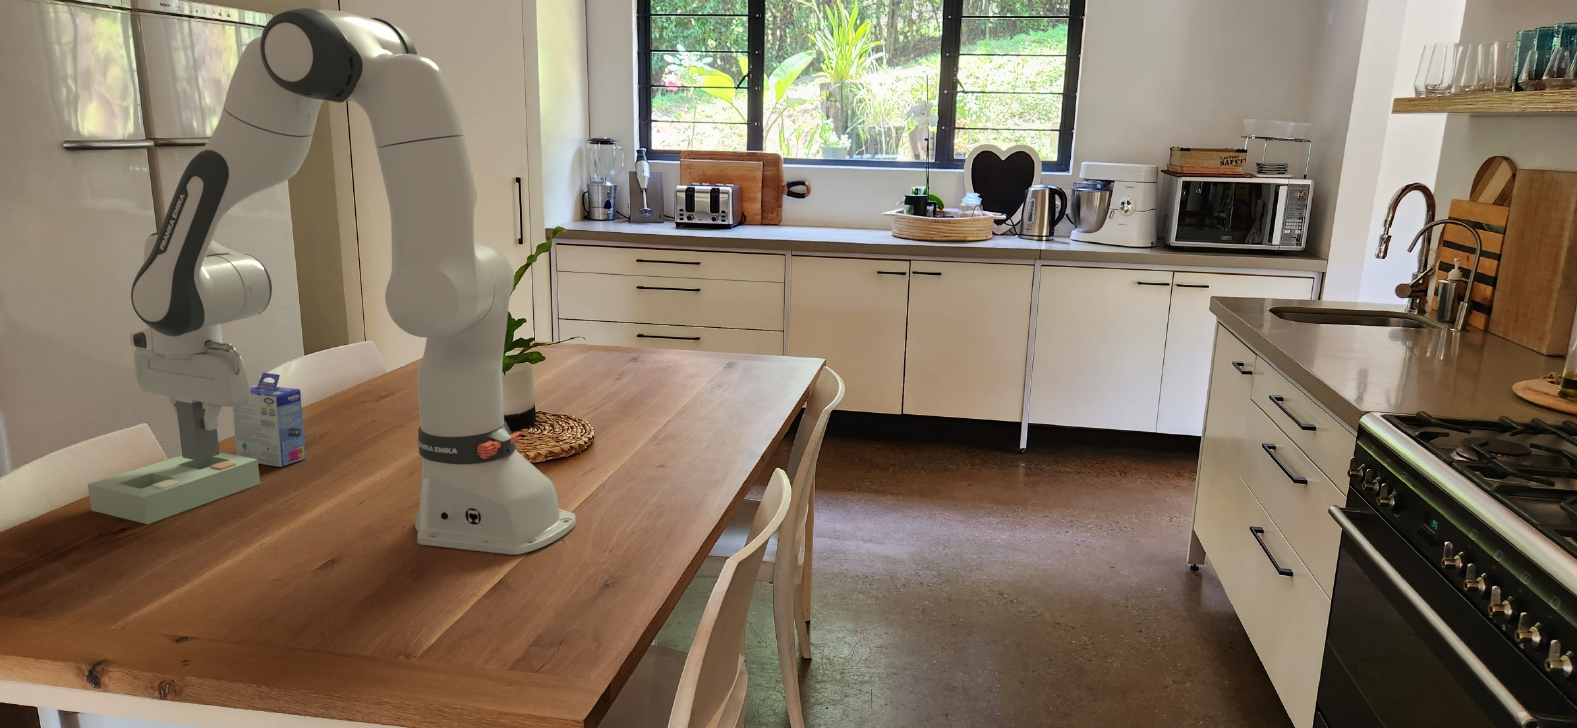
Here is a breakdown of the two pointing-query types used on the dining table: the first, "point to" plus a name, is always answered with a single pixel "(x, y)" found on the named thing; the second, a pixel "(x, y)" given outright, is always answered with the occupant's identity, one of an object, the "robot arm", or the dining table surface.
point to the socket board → (172, 486)
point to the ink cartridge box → (270, 424)
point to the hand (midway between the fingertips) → (198, 426)
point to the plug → (194, 430)
